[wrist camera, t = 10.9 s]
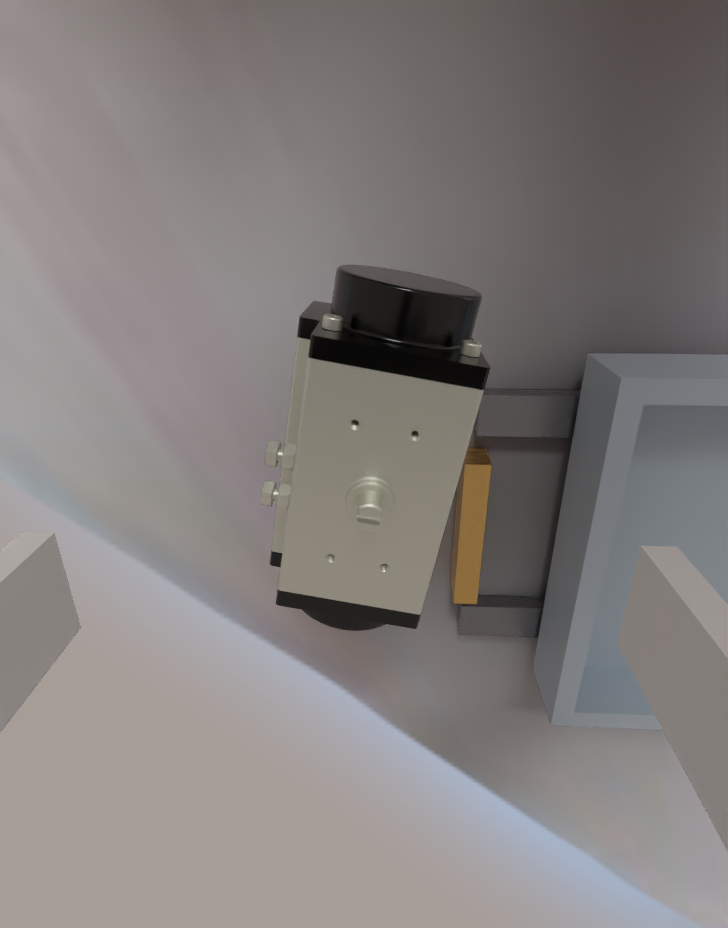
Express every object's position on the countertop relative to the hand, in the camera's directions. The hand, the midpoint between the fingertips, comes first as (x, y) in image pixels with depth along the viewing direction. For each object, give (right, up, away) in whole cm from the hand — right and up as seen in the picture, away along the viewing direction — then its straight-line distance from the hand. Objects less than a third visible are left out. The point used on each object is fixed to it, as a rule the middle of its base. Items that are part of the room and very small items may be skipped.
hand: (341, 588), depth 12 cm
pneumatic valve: (+1, +7, +13) cm, 15 cm away
